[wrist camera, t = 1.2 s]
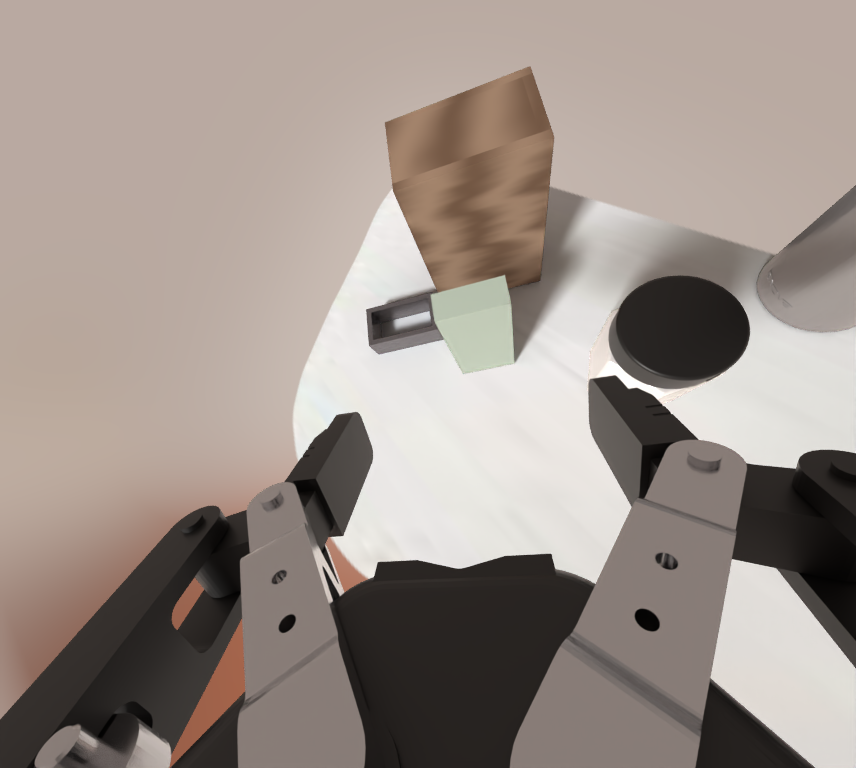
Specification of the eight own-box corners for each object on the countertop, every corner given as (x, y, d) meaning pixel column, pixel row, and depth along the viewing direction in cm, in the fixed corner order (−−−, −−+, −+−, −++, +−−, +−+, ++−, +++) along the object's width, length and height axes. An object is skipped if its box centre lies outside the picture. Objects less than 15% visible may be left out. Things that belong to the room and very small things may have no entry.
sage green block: (508, 336, 39) (502, 264, 26) (514, 363, 38) (511, 303, 25) (458, 347, 40) (429, 284, 27) (463, 374, 39) (434, 321, 26)
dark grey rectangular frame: (443, 302, 43) (438, 289, 40) (449, 338, 41) (444, 327, 38) (375, 319, 44) (366, 308, 42) (378, 354, 43) (369, 345, 40)
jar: (674, 423, 32) (755, 393, 21) (583, 411, 35) (612, 379, 24) (676, 338, 34) (750, 269, 23) (589, 332, 37) (619, 268, 26)
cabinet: (526, 229, 42) (530, 66, 26) (540, 280, 40) (554, 136, 23) (435, 256, 45) (384, 122, 28) (443, 305, 42) (393, 191, 26)
